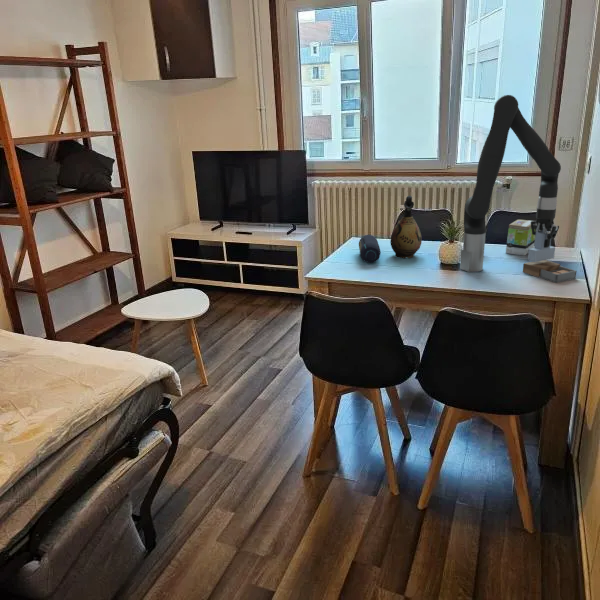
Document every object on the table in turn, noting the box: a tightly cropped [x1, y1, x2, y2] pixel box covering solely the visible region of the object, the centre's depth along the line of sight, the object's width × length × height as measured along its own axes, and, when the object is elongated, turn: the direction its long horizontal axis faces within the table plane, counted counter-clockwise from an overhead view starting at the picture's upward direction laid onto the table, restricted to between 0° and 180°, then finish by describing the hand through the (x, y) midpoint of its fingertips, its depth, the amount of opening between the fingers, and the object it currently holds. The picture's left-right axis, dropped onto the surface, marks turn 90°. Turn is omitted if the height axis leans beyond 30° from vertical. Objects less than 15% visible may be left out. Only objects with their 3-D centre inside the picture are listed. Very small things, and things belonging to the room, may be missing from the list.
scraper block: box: [527, 231, 556, 262], centre depth 231 cm, size 11×4×12 cm, turn 113°
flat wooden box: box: [522, 259, 561, 278], centre depth 234 cm, size 12×9×4 cm
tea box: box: [505, 219, 535, 256], centre depth 265 cm, size 15×10×15 cm
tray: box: [539, 265, 577, 284], centre depth 226 cm, size 11×8×4 cm
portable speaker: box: [358, 234, 382, 264], centre depth 267 cm, size 25×10×10 cm, turn 177°
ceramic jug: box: [389, 195, 423, 259], centre depth 264 cm, size 17×15×30 cm
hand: (542, 246), depth 231 cm, fingers closed on scraper block, 4 cm apart
